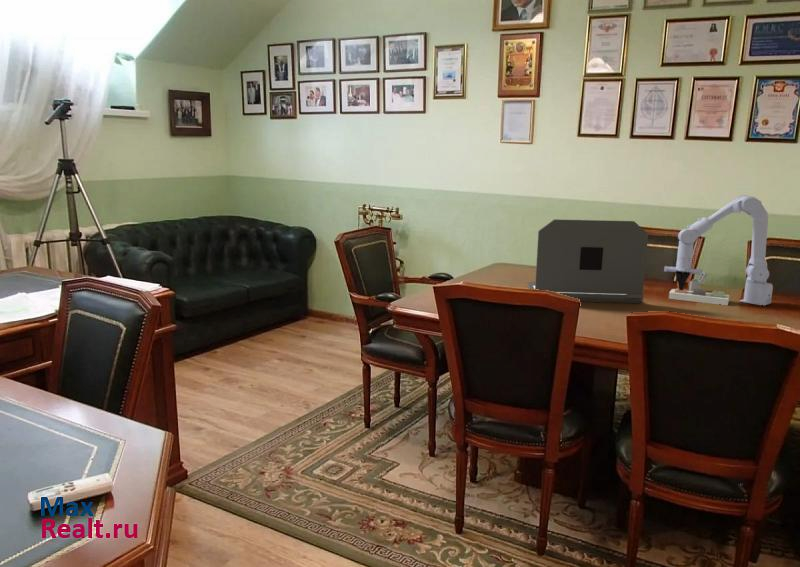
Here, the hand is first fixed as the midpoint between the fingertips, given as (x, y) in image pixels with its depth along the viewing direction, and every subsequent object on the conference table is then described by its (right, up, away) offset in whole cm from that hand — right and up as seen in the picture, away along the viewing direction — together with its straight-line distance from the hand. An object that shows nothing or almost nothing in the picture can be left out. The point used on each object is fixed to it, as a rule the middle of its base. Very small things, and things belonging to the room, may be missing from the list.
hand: (681, 289), depth 259 cm
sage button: (+12, -4, -6) cm, 14 cm away
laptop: (-41, -2, +5) cm, 41 cm away
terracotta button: (0, -3, +1) cm, 3 cm away
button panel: (+6, -4, -3) cm, 8 cm away
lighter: (+14, -1, +15) cm, 21 cm away
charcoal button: (+6, -3, -3) cm, 7 cm away
